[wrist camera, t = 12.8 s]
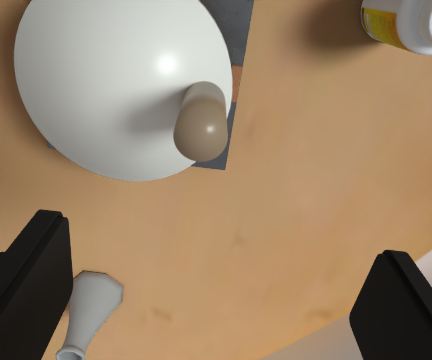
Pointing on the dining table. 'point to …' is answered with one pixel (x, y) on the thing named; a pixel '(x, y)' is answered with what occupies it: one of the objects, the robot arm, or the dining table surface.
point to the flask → (88, 311)
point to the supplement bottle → (400, 23)
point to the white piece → (126, 83)
